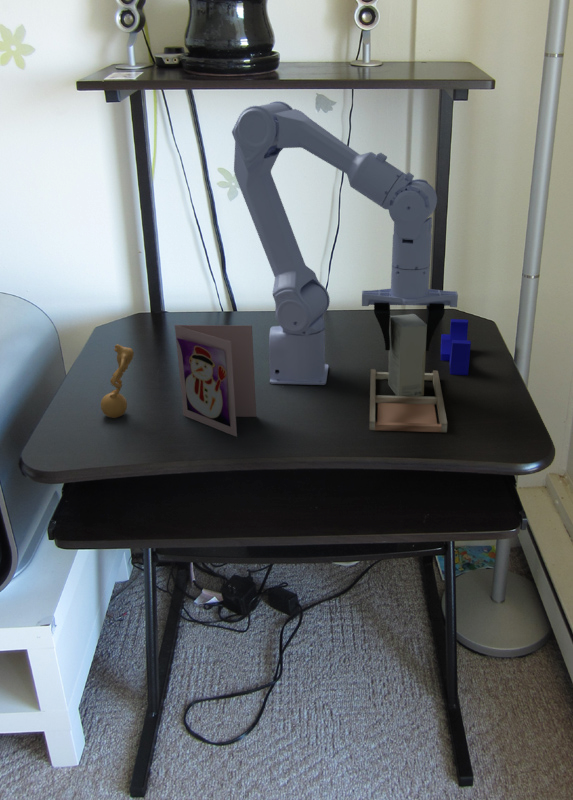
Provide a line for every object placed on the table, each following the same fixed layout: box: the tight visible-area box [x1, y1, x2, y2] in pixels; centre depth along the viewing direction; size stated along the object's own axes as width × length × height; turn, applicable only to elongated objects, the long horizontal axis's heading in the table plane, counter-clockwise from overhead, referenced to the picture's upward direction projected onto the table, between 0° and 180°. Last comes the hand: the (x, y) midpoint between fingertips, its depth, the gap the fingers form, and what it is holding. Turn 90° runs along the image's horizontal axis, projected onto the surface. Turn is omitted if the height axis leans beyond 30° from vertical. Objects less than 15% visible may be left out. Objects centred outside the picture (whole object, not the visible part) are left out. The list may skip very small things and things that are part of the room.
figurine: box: [100, 343, 135, 419], centre depth 112 cm, size 8×6×12 cm
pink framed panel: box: [368, 368, 448, 433], centre depth 116 cm, size 11×19×2 cm, turn 174°
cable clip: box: [440, 318, 472, 376], centre depth 130 cm, size 12×4×6 cm, turn 170°
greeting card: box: [174, 324, 257, 438], centre depth 109 cm, size 11×7×15 cm, turn 50°
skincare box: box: [387, 313, 427, 396], centre depth 118 cm, size 6×4×12 cm
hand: (406, 348), depth 117 cm, fingers closed on skincare box, 5 cm apart
